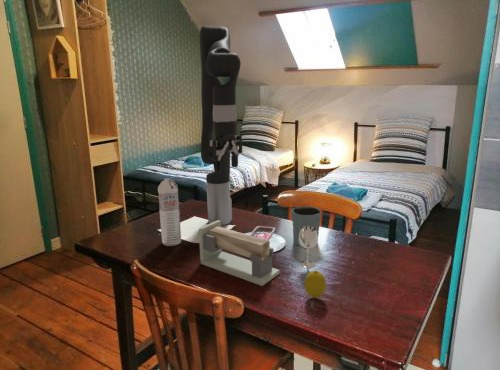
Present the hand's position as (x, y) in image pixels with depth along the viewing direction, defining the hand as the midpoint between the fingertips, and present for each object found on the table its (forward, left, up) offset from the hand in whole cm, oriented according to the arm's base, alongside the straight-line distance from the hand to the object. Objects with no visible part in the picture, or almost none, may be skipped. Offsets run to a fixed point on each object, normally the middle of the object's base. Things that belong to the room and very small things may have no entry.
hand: (226, 169), depth 129 cm
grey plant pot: (-20, +19, -28) cm, 40 cm away
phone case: (-16, +2, -29) cm, 33 cm away
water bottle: (+8, -20, -28) cm, 36 cm away
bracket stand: (+10, +12, -28) cm, 32 cm away
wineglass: (-5, +28, -28) cm, 40 cm away
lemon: (+11, +39, -28) cm, 49 cm away
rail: (+9, +12, -22) cm, 27 cm away
